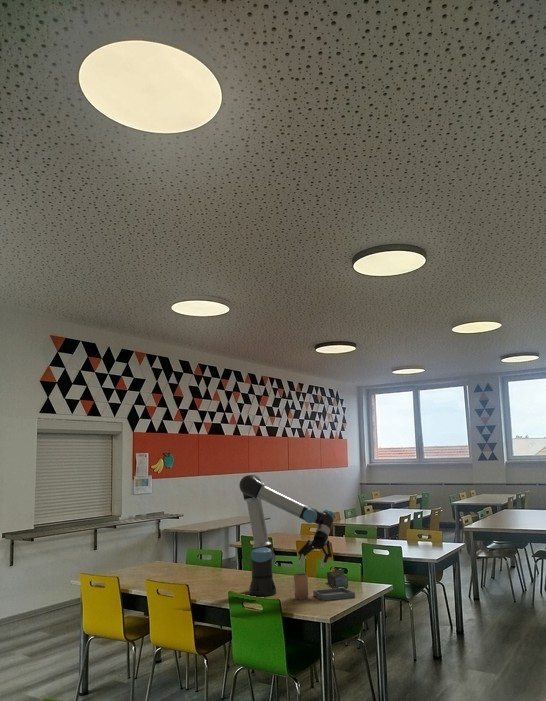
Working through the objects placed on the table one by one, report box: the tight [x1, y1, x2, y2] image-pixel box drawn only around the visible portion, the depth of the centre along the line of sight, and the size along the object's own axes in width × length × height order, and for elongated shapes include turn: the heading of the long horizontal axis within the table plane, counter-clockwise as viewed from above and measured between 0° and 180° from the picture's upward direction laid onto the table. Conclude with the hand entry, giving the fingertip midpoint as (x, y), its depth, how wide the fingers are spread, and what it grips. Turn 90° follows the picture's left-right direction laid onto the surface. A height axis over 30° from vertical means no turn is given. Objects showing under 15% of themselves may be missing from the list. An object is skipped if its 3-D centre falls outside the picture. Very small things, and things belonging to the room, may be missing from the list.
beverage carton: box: [326, 570, 349, 588], centre depth 327 cm, size 8×19×7 cm, turn 9°
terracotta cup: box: [293, 572, 309, 601], centre depth 294 cm, size 7×7×12 cm
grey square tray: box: [312, 587, 356, 601], centre depth 295 cm, size 15×18×2 cm
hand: (310, 566), depth 304 cm, fingers open, 13 cm apart
